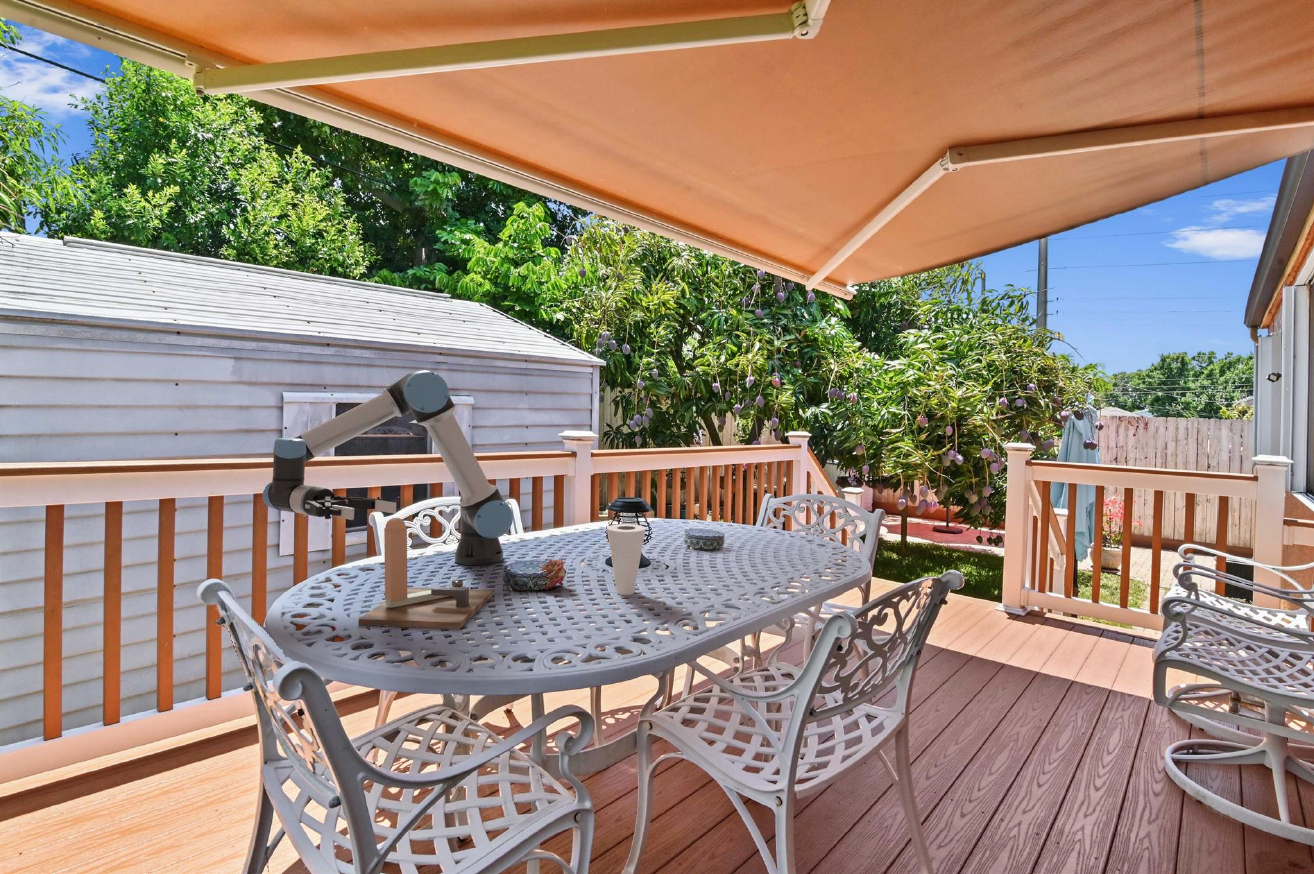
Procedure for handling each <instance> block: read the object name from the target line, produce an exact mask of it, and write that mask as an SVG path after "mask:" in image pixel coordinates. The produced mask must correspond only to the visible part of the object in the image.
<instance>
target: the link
mask: <svg viewBox="0 0 1314 874" xmlns="http://www.w3.org/2000/svg"><path fill="white" fill-rule="evenodd" d="M383 533H384V536H383V537H384V538H383V539H384V540H383V541H384V598H385V601H386V605H387V606H388V607H390V608H392V607H397V606H402V605H407V604H412V603H417V602H422V601H427V600H432V599H437V598H443V597H448V596H438V595H431V590H428V591H422V592H417V593H412V594H407V587H408V528H407V527H406V523H405V521H404V520H403V519H402V518H400V517H393V518H392V517H391V518H390V519H389V520H388V521H387V522H386V524H385V527H384V530H383ZM448 587H452V584H451V585H449V586H448ZM461 587H464V588H467V585H466V584H463V586H461ZM452 597H456V596H452Z"/></svg>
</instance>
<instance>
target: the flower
mask: <svg viewBox="0 0 1314 874" xmlns="http://www.w3.org/2000/svg"><path fill="white" fill-rule="evenodd" d="M566 563H567V561H566V560H565V561H564V560H563V558H562V557H561V558H559V559H549V560H548V561H547V563H545V564H543V565H542V566H540V567H539V568H542V569H541V570H542V571H544V570H546V571H544V573H543V574H546V573H549V574H548V576H546V577H549V578H550V580H547V581H545V582H543V583H542V584H545V583H547V582H548V581H549V582H550V584H551V585H544V590H547V591H548V590H549V589H552V588H553V587H556V585H557V584H559V585H560V587H562V586H564V582H563V581H564V580H565V578H566V576H567V569H568V565H566V567H564V564H566ZM549 587H550V588H549Z"/></svg>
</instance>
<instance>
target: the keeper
mask: <svg viewBox="0 0 1314 874" xmlns="http://www.w3.org/2000/svg"><path fill="white" fill-rule="evenodd" d="M451 585H452V587H449V586H433V587H431V588H432V589H431V595H438V596H456V607H463V608H466V607H467V606H468V605H469V589H470V587H466V588H464V587H461V586H463V585H464V580H463V579H454V580H451Z"/></svg>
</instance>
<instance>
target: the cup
mask: <svg viewBox="0 0 1314 874" xmlns="http://www.w3.org/2000/svg"><path fill="white" fill-rule="evenodd" d="M646 528H647V527H645V526H643V525H640V524H633V523H632V524H631V523H628V524H627V523H621V524H612V525H608V526H607V527H606V530H607V531H606V532H607V537H608V538H607V539H608V545H609V548H610V555H611V563H612V564H611V565H612V570H613V576H614V577H613V578H614V583H615V589H616V594H618V595H621V596H630V595H634V594H635V592H636V591H635V588H636V584H637V579H638V571H639V569H640V568H639V566H640V562H641V557H642V552H643V551H642V550H643V546H644V540H645V536H646V530H647V529H646Z"/></svg>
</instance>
